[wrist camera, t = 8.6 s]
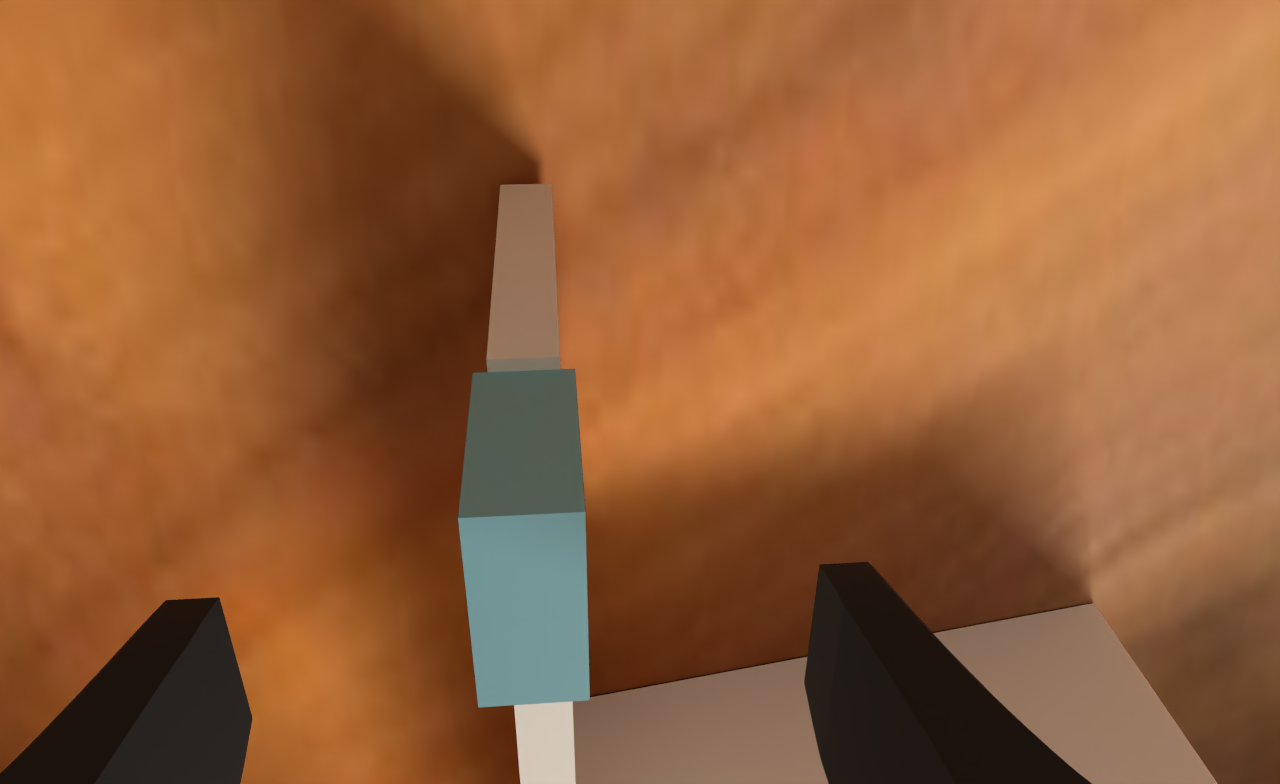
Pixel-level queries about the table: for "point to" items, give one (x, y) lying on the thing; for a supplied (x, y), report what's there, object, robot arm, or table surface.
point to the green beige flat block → (526, 501)
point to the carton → (993, 652)
